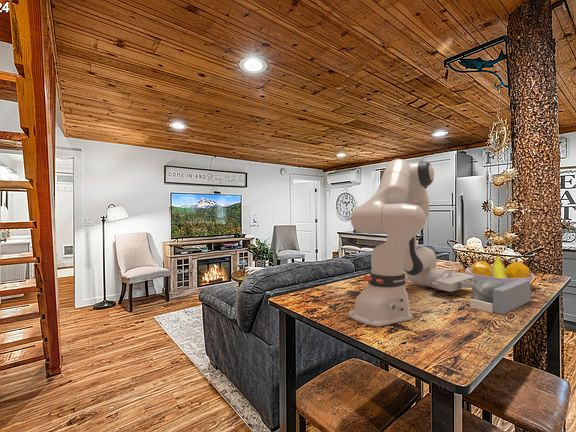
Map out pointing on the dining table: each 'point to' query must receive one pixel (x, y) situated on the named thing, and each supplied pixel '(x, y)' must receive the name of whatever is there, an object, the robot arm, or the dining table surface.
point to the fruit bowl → (500, 271)
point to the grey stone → (485, 290)
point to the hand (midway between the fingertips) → (476, 285)
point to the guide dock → (506, 298)
